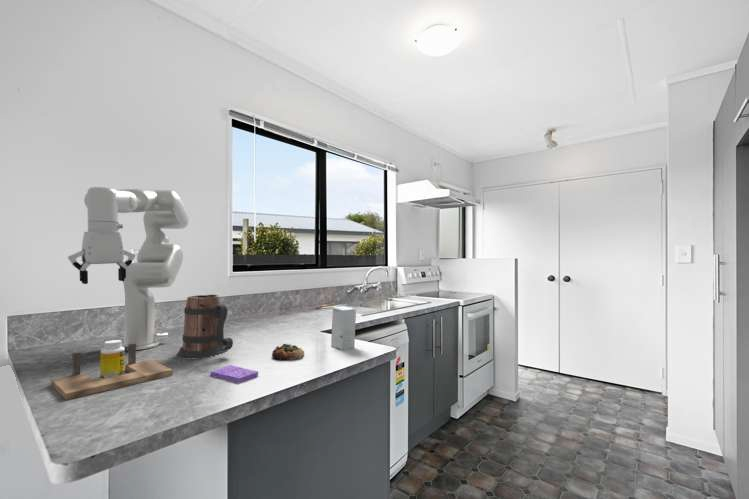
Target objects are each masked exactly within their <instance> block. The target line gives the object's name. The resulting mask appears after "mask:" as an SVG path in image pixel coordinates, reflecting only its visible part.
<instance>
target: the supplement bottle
mask: <svg viewBox="0 0 749 499" xmlns="http://www.w3.org/2000/svg"><path fill="white" fill-rule="evenodd" d="M122 344H123V342H122V340H121V339H112V340H106V341H104V345H103V346H104V347H103V348H101V349H102V350H101V349H100V350H101V354H100V362H99V363H100V364H99V366H100V369H99V374H100V375H99V379H104V378H109V377H113V376H118V375H123V374H125V361H126V360H125V358H126V354H125V352H126V350H125V348H124V347H121V346H122Z"/></svg>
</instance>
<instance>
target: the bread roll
mask: <svg viewBox="0 0 749 499" xmlns="http://www.w3.org/2000/svg"><path fill="white" fill-rule="evenodd" d="M304 355H305V350H303V348H302V347H299V346H298V345H292V344H291V343H290V344H288V343H283V344H282V345H281V346H280V345H277V346H276V347H275V348H274V349H273V351H272V353H271V356H272V358H273V360H276V361H290V360H293V361H294V360H295V361H296V360H300V359H303V358H304ZM302 357H303V358H302ZM299 358H300V359H299Z"/></svg>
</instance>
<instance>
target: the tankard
mask: <svg viewBox="0 0 749 499" xmlns="http://www.w3.org/2000/svg"><path fill="white" fill-rule="evenodd" d="M183 309H184V310H183V312H184V323H183V324H184V326H183V335H182V346H181V347H180V348H179V350H178V352H177V353H176V354H175V357H177V358H180V359H185V358H186V359H187V358H190V359H191V360H194V358H198V359H204V358H203V357H208V358H211V357H210V356H213V357H216V356H215V355H218V356H220V355H219V354H221V355H223V353H224V354H226V353H227V352H228V351H229V350H231V349H232V348H233V345H234V342H233V338H231V337H224V336H225V335H224V326H225V322H226V319H227V317H228V307H227V305H226V304H224V303H223V304H222V303H221V302H220V296H219V294H207V295H206V294H204V295H202V294H200V295H198V294H197V295H190V296H187V298H186V302H185V307H184V308H183ZM225 352H226V353H225ZM192 358H193V359H192ZM190 359H189V360H190Z"/></svg>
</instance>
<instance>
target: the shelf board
mask: <svg viewBox="0 0 749 499" xmlns="http://www.w3.org/2000/svg"><path fill="white" fill-rule="evenodd" d="M121 347H124V348H125V351H127V352H128V353H127V354H128V355H127V356H128V357H127V359H128V362H127V363H126V364H124V371H127V372H129V373H124V374H123V375H118V376H113V377H109V378H104V379H100V378H99V379H93V378H92V377H91V376H89V375H88V374H87V373H85V372H81V358H83V357H84V358H85V357H90V356H95V355H96V356H97V355H101V350H102V349H103V348H101V349H97V350H96V349H95V350H91V351H84V352H81V351H74V352H73V351H72V354H71V356H72V357H71V374H70V375H66V376H60V377H55V378H51V379H50V385H51V386H52V388H53V389H54V390H55V391H57V393H58V394H59V395H60V396H61V397H62V398H63V399H65V401H66V400H67V401H68V400H72V399H76V398H80V397H84V396H89V395H92V394H96V393H101V392H106V391H110V390H114V389H118V388H119V389H120V388H123V387H128V386H131V385H135V384H140V383H144V382H147V381H148V382H149V381H152V380H156V379H160V378H165V377H170V376H173V372H174V371H173V368H170V367H168V366H166V365H163V364H161V363H159V362H157V361H155V360H153V359H146V360H142V361H136V359H137V356H136V355H137V350H136V343H129V345H126V346H121ZM126 349H128V350H126Z"/></svg>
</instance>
